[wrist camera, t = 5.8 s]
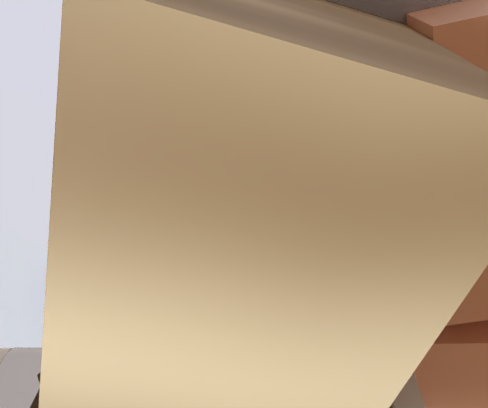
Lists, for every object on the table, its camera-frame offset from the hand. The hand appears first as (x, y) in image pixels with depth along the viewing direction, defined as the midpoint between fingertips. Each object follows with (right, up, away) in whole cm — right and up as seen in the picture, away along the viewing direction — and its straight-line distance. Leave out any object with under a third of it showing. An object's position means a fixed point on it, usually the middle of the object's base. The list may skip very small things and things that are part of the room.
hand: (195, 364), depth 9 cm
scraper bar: (0, +1, +2) cm, 2 cm away
